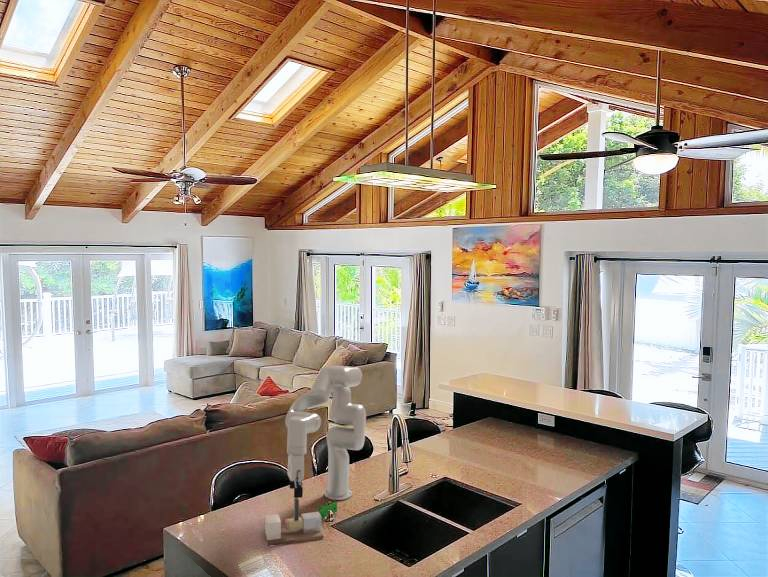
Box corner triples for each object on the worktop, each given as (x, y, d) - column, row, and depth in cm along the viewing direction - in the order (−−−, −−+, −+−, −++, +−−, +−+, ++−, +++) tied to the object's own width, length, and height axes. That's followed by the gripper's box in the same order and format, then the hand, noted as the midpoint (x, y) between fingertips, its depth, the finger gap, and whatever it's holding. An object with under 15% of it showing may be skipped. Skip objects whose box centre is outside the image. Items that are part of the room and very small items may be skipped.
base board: (264, 532, 228) (264, 529, 228) (316, 525, 234) (316, 522, 234) (268, 546, 216) (268, 543, 216) (323, 538, 223) (323, 535, 223)
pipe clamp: (330, 510, 249) (330, 500, 249) (337, 513, 247) (337, 502, 247) (313, 519, 240) (313, 508, 239) (319, 522, 238) (320, 511, 237)
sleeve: (301, 528, 229) (301, 513, 228) (318, 526, 231) (318, 511, 231) (303, 533, 224) (303, 519, 224) (321, 531, 226) (321, 516, 226)
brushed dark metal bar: (285, 526, 226) (285, 499, 225) (317, 522, 230) (318, 495, 229) (286, 530, 223) (286, 502, 222) (319, 525, 227) (319, 498, 227)
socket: (265, 531, 225) (265, 515, 225) (277, 530, 227) (278, 514, 227) (267, 540, 219) (267, 523, 218) (280, 538, 220) (280, 521, 220)
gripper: (283, 443, 231) (282, 485, 231) (291, 456, 215) (290, 502, 215) (302, 442, 233) (301, 484, 234) (311, 455, 217) (309, 500, 218)
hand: (295, 492), depth 224 cm, fingers open, 9 cm apart
